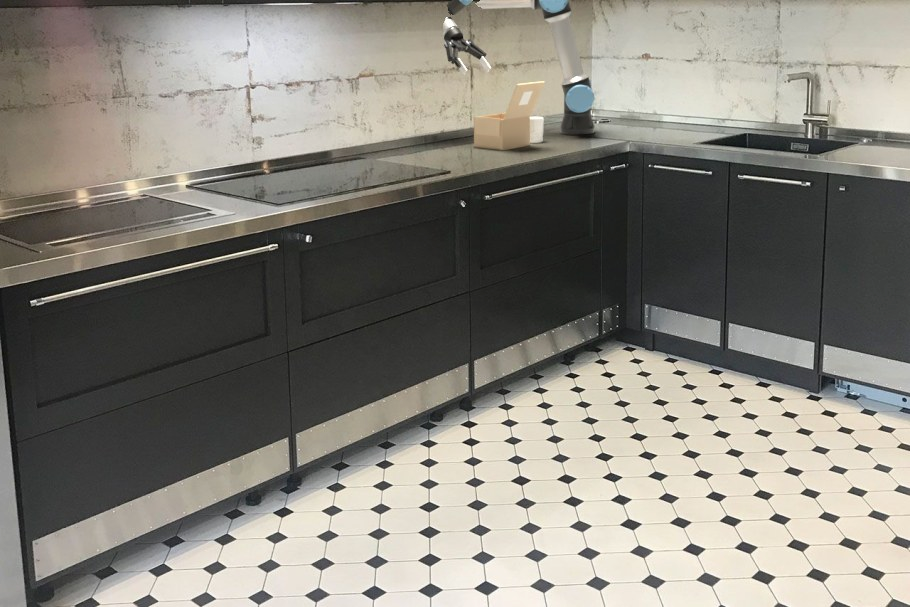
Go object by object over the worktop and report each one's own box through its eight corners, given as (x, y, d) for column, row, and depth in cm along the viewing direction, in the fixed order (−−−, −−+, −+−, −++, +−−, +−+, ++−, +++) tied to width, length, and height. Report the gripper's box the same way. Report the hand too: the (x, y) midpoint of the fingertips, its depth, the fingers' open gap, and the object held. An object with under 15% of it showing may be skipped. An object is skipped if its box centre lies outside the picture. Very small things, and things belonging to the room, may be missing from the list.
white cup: (544, 143, 423) (544, 118, 420) (525, 143, 423) (525, 119, 420) (543, 140, 430) (543, 116, 427) (524, 140, 430) (524, 116, 427)
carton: (473, 147, 417) (472, 116, 413) (502, 142, 428) (501, 112, 424) (501, 150, 405) (501, 118, 402) (530, 145, 416) (530, 114, 413)
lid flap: (516, 84, 393) (518, 85, 392) (543, 81, 403) (544, 82, 403) (503, 118, 402) (504, 119, 402) (529, 115, 412) (531, 115, 412)
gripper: (468, 38, 435) (494, 75, 428) (424, 41, 418) (450, 80, 412) (476, 25, 429) (503, 62, 423) (432, 27, 413) (459, 67, 407)
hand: (477, 71), depth 418 cm, fingers open, 13 cm apart
